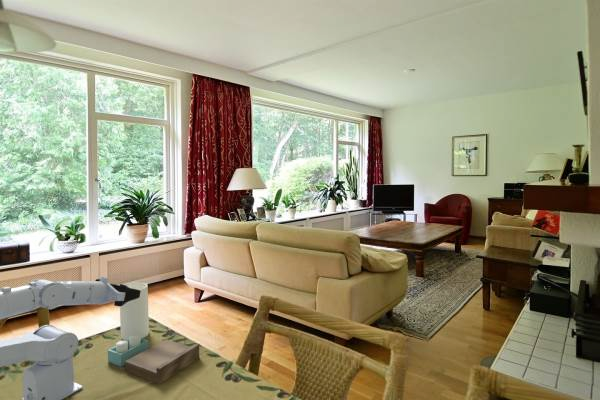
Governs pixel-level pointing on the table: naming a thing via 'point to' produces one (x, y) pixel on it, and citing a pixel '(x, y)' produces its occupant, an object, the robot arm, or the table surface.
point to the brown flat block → (162, 360)
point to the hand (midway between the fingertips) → (130, 291)
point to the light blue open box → (127, 350)
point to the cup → (135, 314)
